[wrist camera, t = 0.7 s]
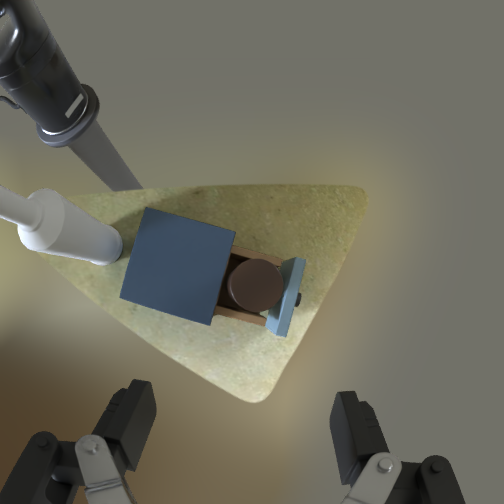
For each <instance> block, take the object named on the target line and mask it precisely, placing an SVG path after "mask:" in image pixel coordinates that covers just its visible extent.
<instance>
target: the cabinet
mask: <svg viewBox="0 0 504 504" xmlns="http://www.w3.org/2000/svg"><path fill="white" fill-rule="evenodd" d="M235 233H236V232H235V231H231V230H228V229H224V228H220V227H217V226H213V225H210V224H206V223H203V222H199V221H195V220H192V219H188V218H185V217H181V216H177V215H174V214H170V213H166V212H163V211H159V210H155V209H152V208H148V207H146V208H145V211H144V214H143V217H142V220H141V223H140V226H139V230H138V233H137V236H136V239H135V243H134V246H133V249H132V253H131V256H130V260H129V263H128V267H127V270H126V274H125V278H124V281H123V285H122V289H121V293H120V298H122V299H124V300H127V301H130V302H133V303H136V304H139V305H142V306H145V307H149V308H152V309H155V310H158V311H161V312H164V313H168V314H171V315H174V316H178V317H181V318H184V319H188V320H191V321H195V322H198V323H202V324H205V325H209V326H210V324H211V321H212V317H213V313H214V309H215V306H216V302H217V298H218V294H219V291H220V287H221V283H222V280H223V276H224V273H225V269H226V265H227V262H228V258H229V255H230V251H231V247H232V244H233V240H234V237H235Z"/></svg>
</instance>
